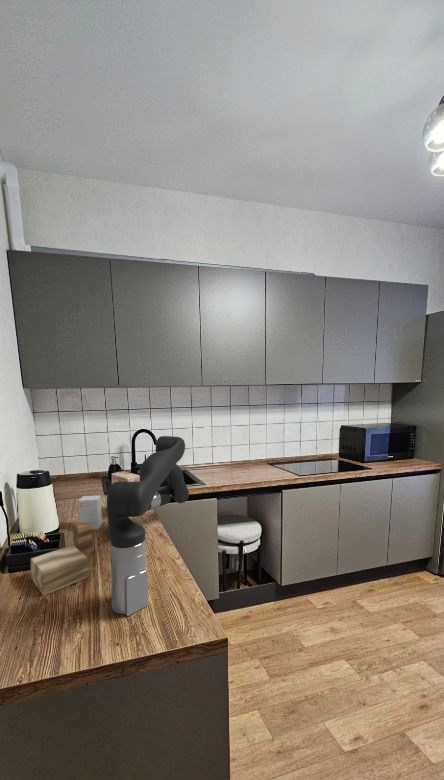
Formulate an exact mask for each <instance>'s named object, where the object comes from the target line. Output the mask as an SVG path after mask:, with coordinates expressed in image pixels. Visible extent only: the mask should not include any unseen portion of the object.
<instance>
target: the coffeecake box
mask: <svg viewBox="0 0 444 780" xmlns="http://www.w3.org/2000/svg"><path fill="white" fill-rule="evenodd" d="M139 481H141V479H140V475H139V474H135V473H132V472H129V471H125V470H123V471H122V470H121V471H117V472H113V473H111V485H112V484H113V483H115V482H139ZM129 518H130V519H131V520H133V519H132V518H135V517H129ZM135 519H136V518H135Z"/></svg>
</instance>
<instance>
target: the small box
mask: <svg viewBox="0 0 444 780" xmlns="http://www.w3.org/2000/svg"><path fill="white" fill-rule="evenodd" d="M77 507H78V509H77V511H78V523H80V522H83V521H88V522H89V523H91V524H92V529H93V531H96V530H97V531H98V530H99V529H100V527H101V526H102V522H103V521H102V519H103V518H102V517H103V516H102V514H103V513H102V495H83V496H81V498H80V499H78V500H77ZM100 525H101V526H100Z"/></svg>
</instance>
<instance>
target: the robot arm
mask: <svg viewBox="0 0 444 780" xmlns="http://www.w3.org/2000/svg"><path fill="white" fill-rule="evenodd" d="M185 450H186V443H185V440H184V439H183V438H182V437H180V436H173V435H172V436H170V435H162V436H158V437H157V439H156V443H155V452H152V453H151V454H150V455H149V456H148V457H146V458H145V460H144V461H143V462H142V463H141V465H140V467H139V470H138V471H139V472H138V473H139V474H138V475H140V481H139V482H115V483H113V484H112V483H111V485H110V487H109V489H108V491H107V497H106V509H105V511H106V513H107V522H108V523H107V525H108V526H107V528H108V535H109V539H110V581H111V582H110V585H111V586H110V587H111V588H110V591H111V609H112V611H113V612H114V613H117V614H118V615H125V616H126V617H129V616H131V615H132V614H134V613H136V612H138V611H140V610H143V609H144V608H146V607H147V606H149V595H148V593H149V591H148V587H149V585H148V570H147V566H146V565H147V564H146V563H147V560H146V557H147V553H146V552H147V551H146V549H147V548H146V529H145V527H144V526H143V525H142V524H139V523H137V522H135V521H134V520H133V519H130V518H129V517H138V518H140V517H139V516H144V515H145V514H146V513H147V512H148V511H152V510H154V509H156V508H159V507H162V506H164V505H168V504H169V503H170V502H171V500H172V499H173V500H174V502H176V503H178V504H184V503H186V502H187V501H188V499H189V496H190V491H189V489H188V486H187V485H186V482H185V477H184V473H183V470H182V468H181V467H180V465H178V462H180V461H181V459H182V458H183V456H184V454H185ZM166 479H167V485H165V486H164V487H163V488H160V487H161V485H163V482H164V481H165V480H166Z"/></svg>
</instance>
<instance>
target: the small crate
mask: <svg viewBox="0 0 444 780" xmlns="http://www.w3.org/2000/svg"><path fill="white" fill-rule="evenodd" d="M72 530H73V531H72V539H73V541H72V543H73V544H72V545H73V546H75V547H76V548H77V549H78V550H79V551H80V552H82V553H83V554H84V555H87V554H89V553H93V550H94V549H93V548H94V547H93V546H94V543H93V531H94V530H93V529H92V524H91V523H89V522H88V521H83V522H80V523H79V522H77V523H74V524H72Z"/></svg>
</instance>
